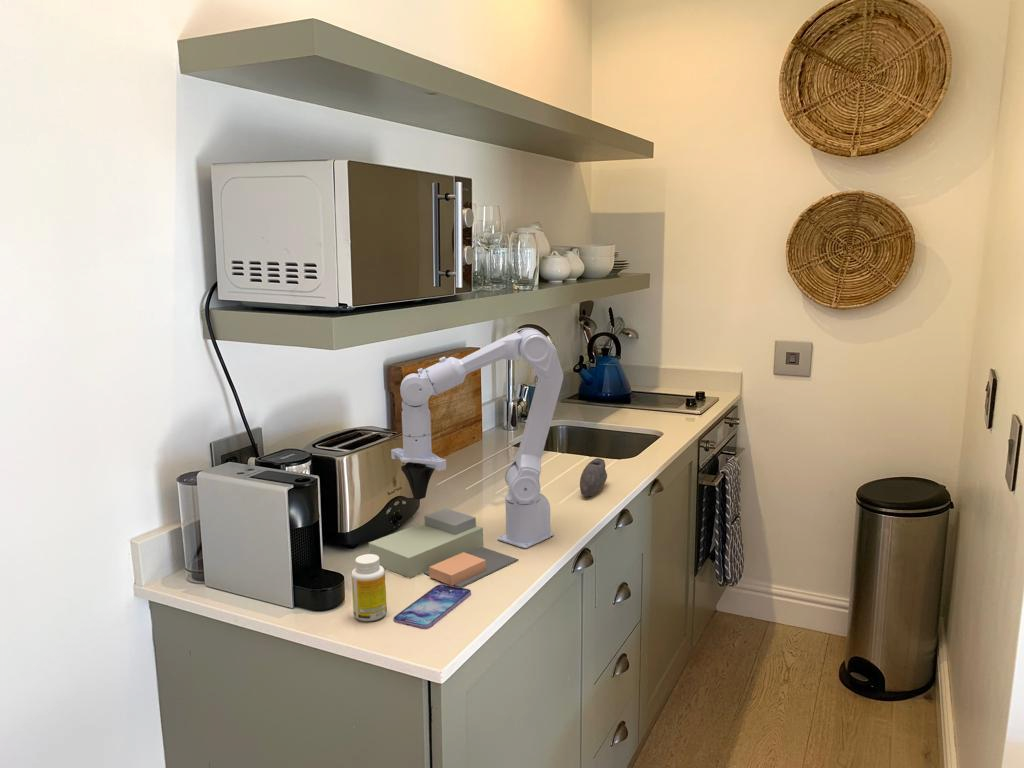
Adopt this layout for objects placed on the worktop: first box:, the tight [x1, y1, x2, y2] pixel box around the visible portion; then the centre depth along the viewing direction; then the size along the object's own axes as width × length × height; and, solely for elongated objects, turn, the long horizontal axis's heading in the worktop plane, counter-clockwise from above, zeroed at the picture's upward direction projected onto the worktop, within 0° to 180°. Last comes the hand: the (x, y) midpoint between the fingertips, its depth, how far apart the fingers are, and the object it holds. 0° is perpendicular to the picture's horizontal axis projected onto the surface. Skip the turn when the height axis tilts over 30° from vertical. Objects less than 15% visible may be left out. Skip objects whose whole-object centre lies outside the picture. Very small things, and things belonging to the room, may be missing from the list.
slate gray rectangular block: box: [423, 507, 477, 535], centre depth 164 cm, size 9×6×2 cm, turn 48°
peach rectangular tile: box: [429, 552, 486, 586], centre depth 150 cm, size 9×6×2 cm, turn 138°
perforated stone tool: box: [579, 457, 608, 498], centre depth 196 cm, size 15×5×7 cm, turn 157°
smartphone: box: [393, 583, 472, 630], centre depth 138 cm, size 7×1×15 cm
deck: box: [368, 521, 484, 579], centre depth 160 cm, size 20×12×4 cm, turn 138°
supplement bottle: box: [351, 553, 388, 622], centre depth 134 cm, size 6×6×10 cm
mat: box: [423, 546, 519, 588], centre depth 154 cm, size 16×10×1 cm, turn 138°
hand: (419, 498), depth 163 cm, fingers closed
